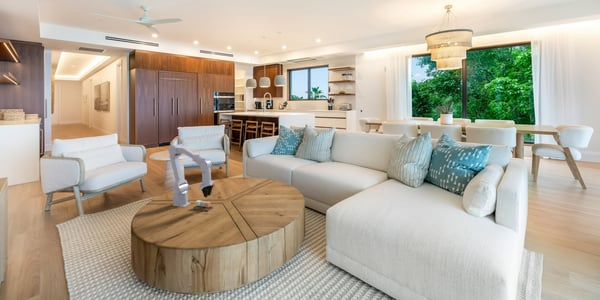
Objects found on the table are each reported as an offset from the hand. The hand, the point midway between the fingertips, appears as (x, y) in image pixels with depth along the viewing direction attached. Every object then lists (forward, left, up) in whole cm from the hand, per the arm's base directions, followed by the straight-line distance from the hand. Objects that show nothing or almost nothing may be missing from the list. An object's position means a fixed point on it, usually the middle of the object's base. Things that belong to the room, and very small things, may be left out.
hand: (207, 196), depth 204 cm
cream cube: (-7, 0, -7) cm, 10 cm away
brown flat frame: (-4, 0, -9) cm, 10 cm away
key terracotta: (0, 0, -7) cm, 7 cm away
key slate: (-4, 0, -7) cm, 8 cm away
